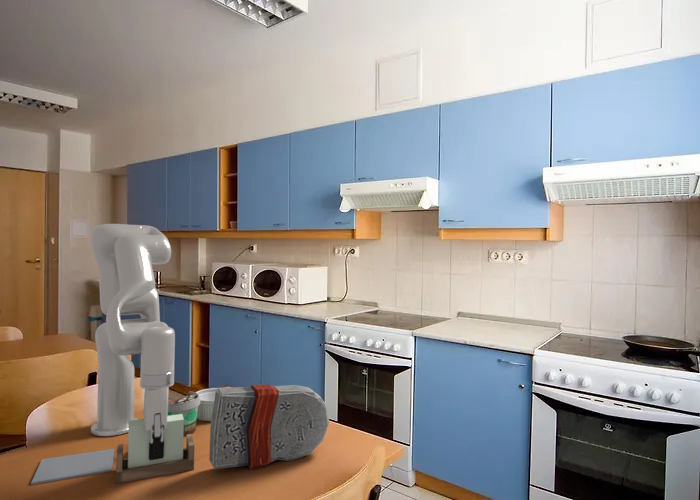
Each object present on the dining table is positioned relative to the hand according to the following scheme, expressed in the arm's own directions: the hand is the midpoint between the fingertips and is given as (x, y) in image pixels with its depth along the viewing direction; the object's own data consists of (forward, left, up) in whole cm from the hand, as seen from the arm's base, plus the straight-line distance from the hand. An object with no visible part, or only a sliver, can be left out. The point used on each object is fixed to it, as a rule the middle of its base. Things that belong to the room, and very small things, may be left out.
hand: (155, 453), depth 108 cm
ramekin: (-31, +18, -4) cm, 36 cm away
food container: (-20, +9, -4) cm, 22 cm away
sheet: (0, 0, -4) cm, 4 cm away
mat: (-9, -18, -4) cm, 20 cm away
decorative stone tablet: (+6, +27, -4) cm, 28 cm away
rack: (0, 0, -4) cm, 4 cm away
